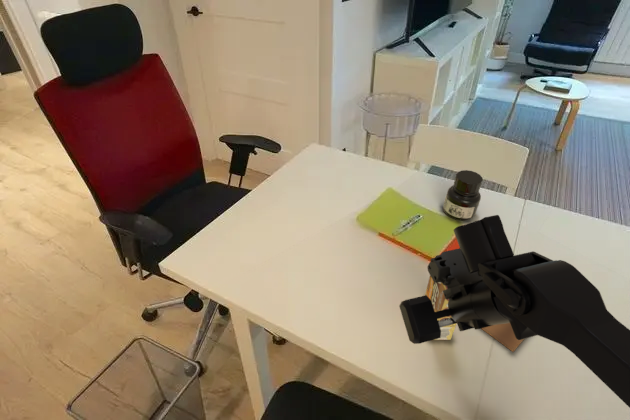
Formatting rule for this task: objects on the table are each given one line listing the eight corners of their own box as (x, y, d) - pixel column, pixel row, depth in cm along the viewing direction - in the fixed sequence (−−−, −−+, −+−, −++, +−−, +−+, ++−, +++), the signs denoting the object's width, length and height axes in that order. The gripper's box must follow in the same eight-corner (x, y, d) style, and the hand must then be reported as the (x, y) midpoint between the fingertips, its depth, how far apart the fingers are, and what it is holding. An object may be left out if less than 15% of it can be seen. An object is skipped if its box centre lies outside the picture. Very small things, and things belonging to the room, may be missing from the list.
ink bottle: (435, 211, 107) (444, 176, 100) (450, 198, 112) (459, 164, 105) (467, 226, 102) (480, 191, 95) (481, 211, 107) (494, 177, 100)
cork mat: (536, 323, 78) (537, 322, 78) (512, 352, 73) (513, 350, 73) (469, 278, 88) (469, 277, 87) (443, 301, 83) (444, 299, 82)
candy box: (451, 340, 75) (471, 291, 65) (430, 340, 75) (447, 292, 65) (439, 304, 82) (455, 255, 72) (420, 304, 82) (434, 255, 72)
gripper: (525, 232, 54) (469, 258, 68) (408, 257, 50) (374, 279, 64) (559, 310, 50) (492, 319, 65) (435, 343, 46) (393, 345, 61)
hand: (438, 314), depth 64 cm, fingers open, 9 cm apart
